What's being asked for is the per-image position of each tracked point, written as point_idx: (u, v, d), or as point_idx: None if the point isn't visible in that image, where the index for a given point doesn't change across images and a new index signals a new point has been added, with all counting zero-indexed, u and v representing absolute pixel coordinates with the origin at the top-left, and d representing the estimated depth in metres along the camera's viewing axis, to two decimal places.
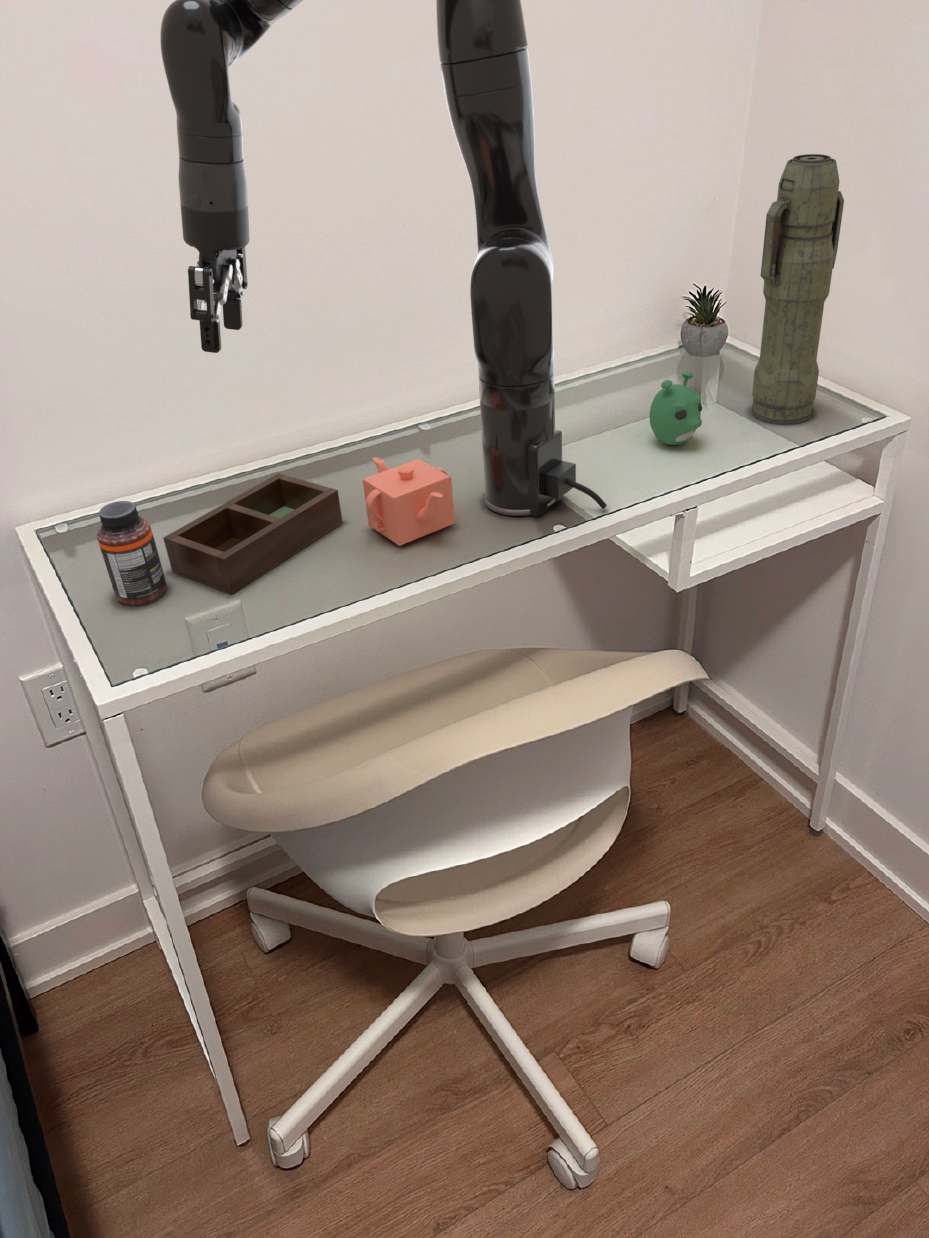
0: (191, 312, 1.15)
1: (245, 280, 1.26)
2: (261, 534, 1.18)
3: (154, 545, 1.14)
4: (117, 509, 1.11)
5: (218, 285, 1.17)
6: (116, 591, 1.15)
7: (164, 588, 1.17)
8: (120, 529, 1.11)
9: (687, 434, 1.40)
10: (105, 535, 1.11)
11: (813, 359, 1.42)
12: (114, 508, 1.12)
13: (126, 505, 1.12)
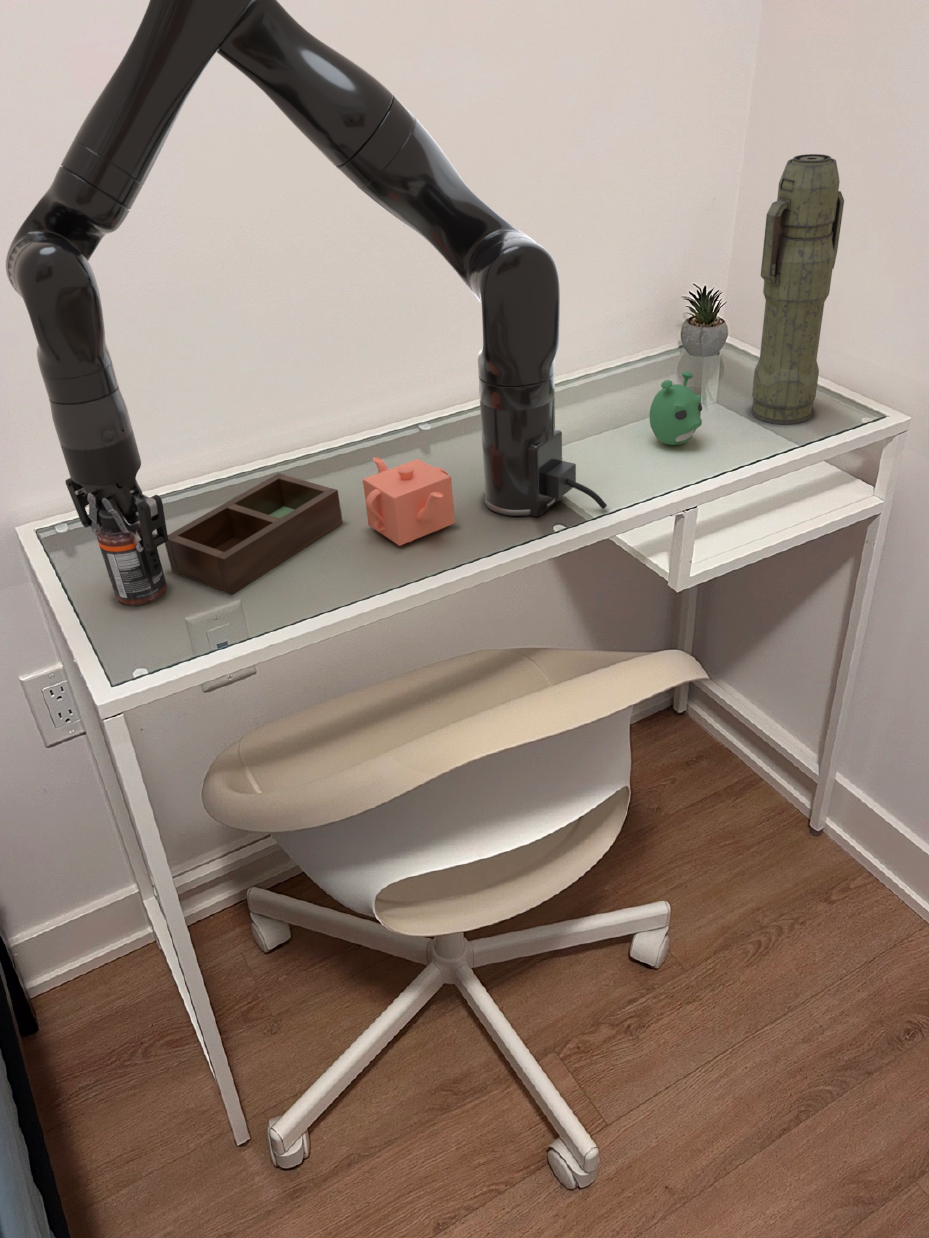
0: (151, 544, 1.09)
1: None
2: (261, 534, 1.18)
3: None
4: None
5: None
6: (116, 591, 1.15)
7: (164, 588, 1.17)
8: None
9: (687, 434, 1.40)
10: (105, 535, 1.11)
11: (813, 359, 1.42)
12: None
13: None
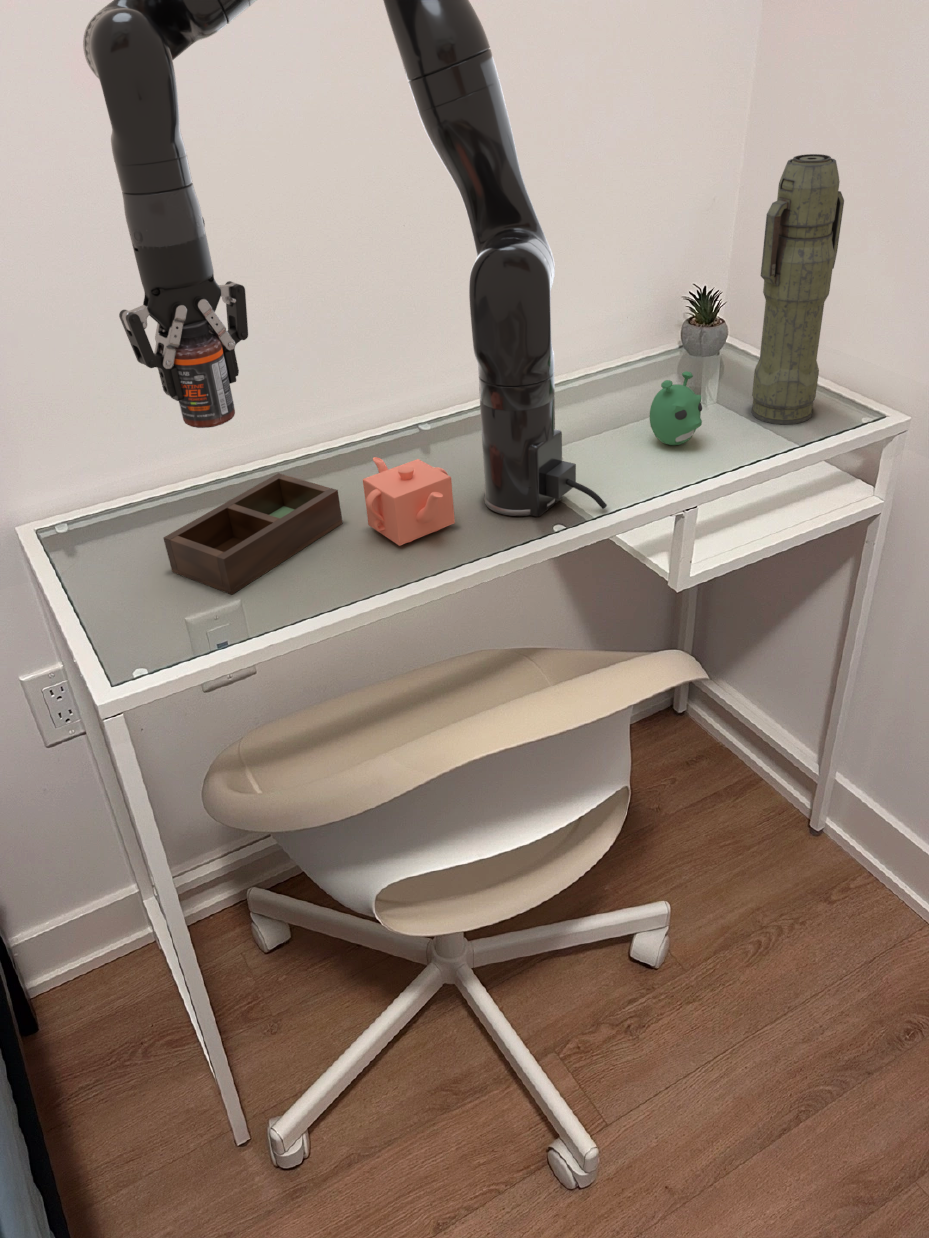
0: (247, 330, 1.12)
1: (141, 352, 1.08)
2: (261, 534, 1.18)
3: None
4: None
5: None
6: (216, 412, 1.11)
7: None
8: (210, 335, 1.09)
9: (687, 434, 1.40)
10: (204, 346, 1.08)
11: (813, 359, 1.42)
12: None
13: None
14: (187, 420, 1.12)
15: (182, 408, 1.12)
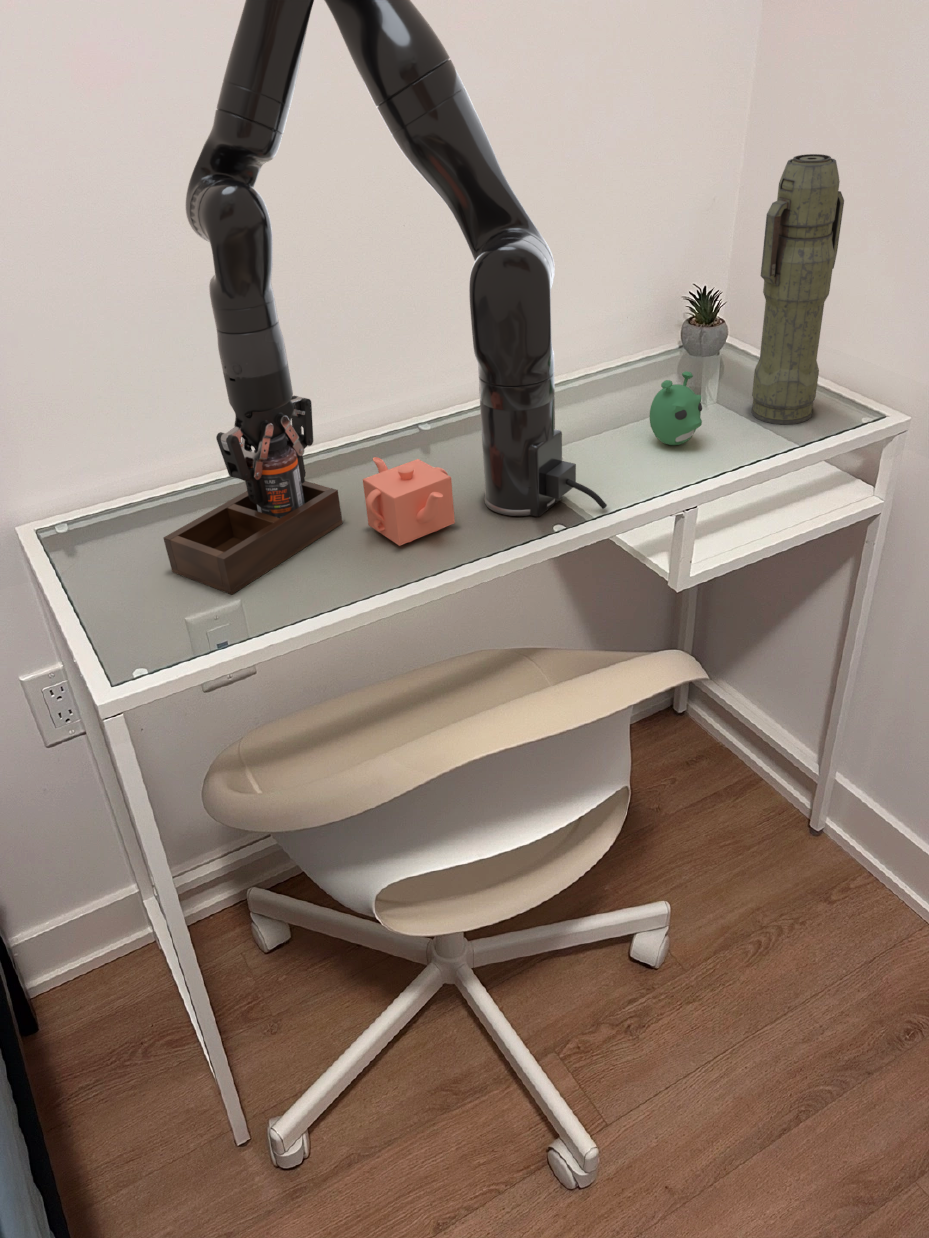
0: (312, 437, 1.26)
1: None
2: (261, 534, 1.18)
3: None
4: None
5: None
6: None
7: None
8: (287, 445, 1.23)
9: (687, 434, 1.40)
10: (286, 456, 1.21)
11: (813, 359, 1.42)
12: None
13: None
14: None
15: (264, 511, 1.24)
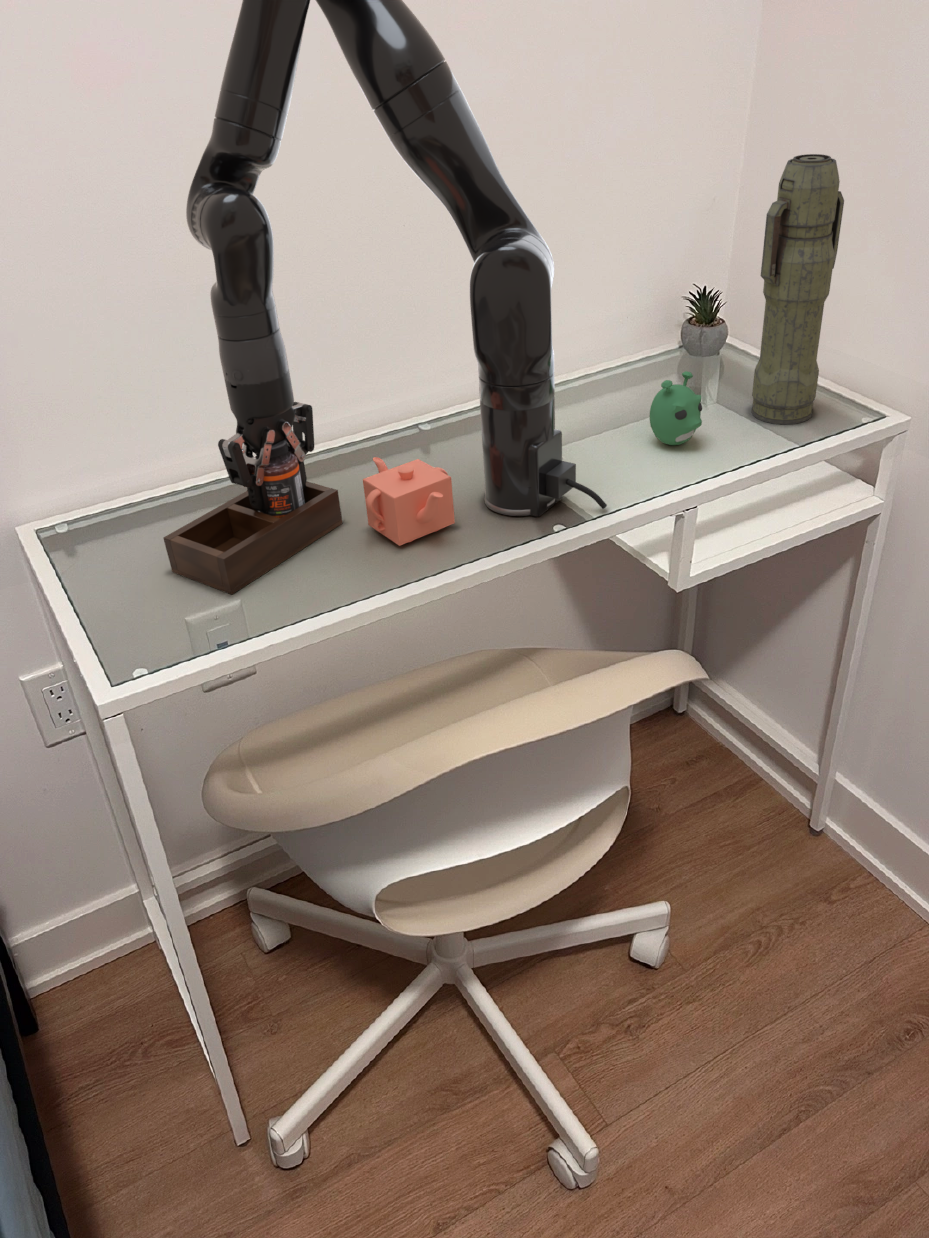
0: (313, 443, 1.26)
1: None
2: (261, 534, 1.18)
3: None
4: None
5: None
6: None
7: None
8: (288, 451, 1.23)
9: (687, 434, 1.40)
10: (288, 462, 1.22)
11: (813, 359, 1.42)
12: None
13: None
14: None
15: None
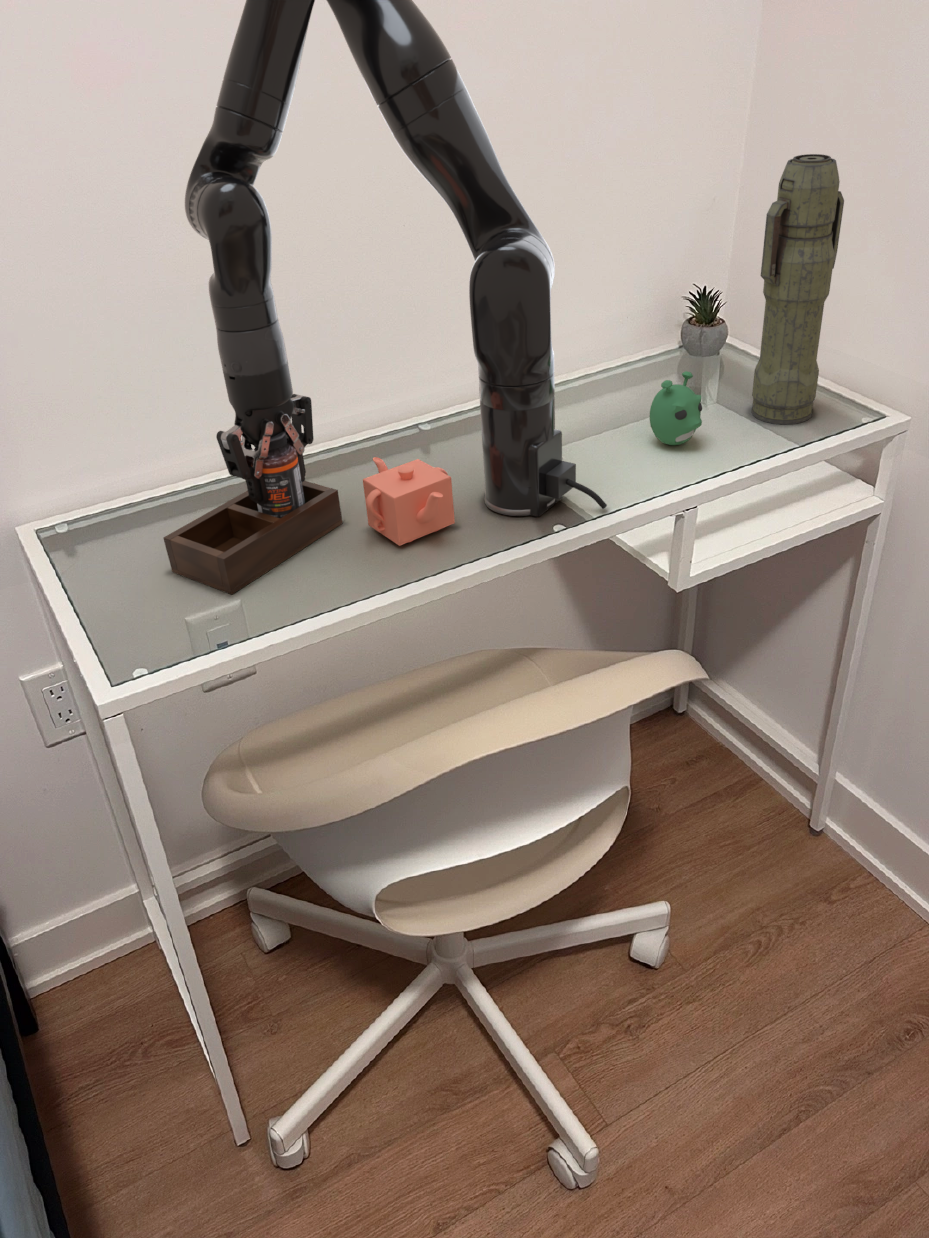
0: (312, 435, 1.26)
1: None
2: (261, 534, 1.18)
3: None
4: None
5: None
6: None
7: None
8: (287, 444, 1.22)
9: (687, 434, 1.40)
10: (287, 454, 1.21)
11: (813, 359, 1.42)
12: None
13: None
14: None
15: (264, 510, 1.24)
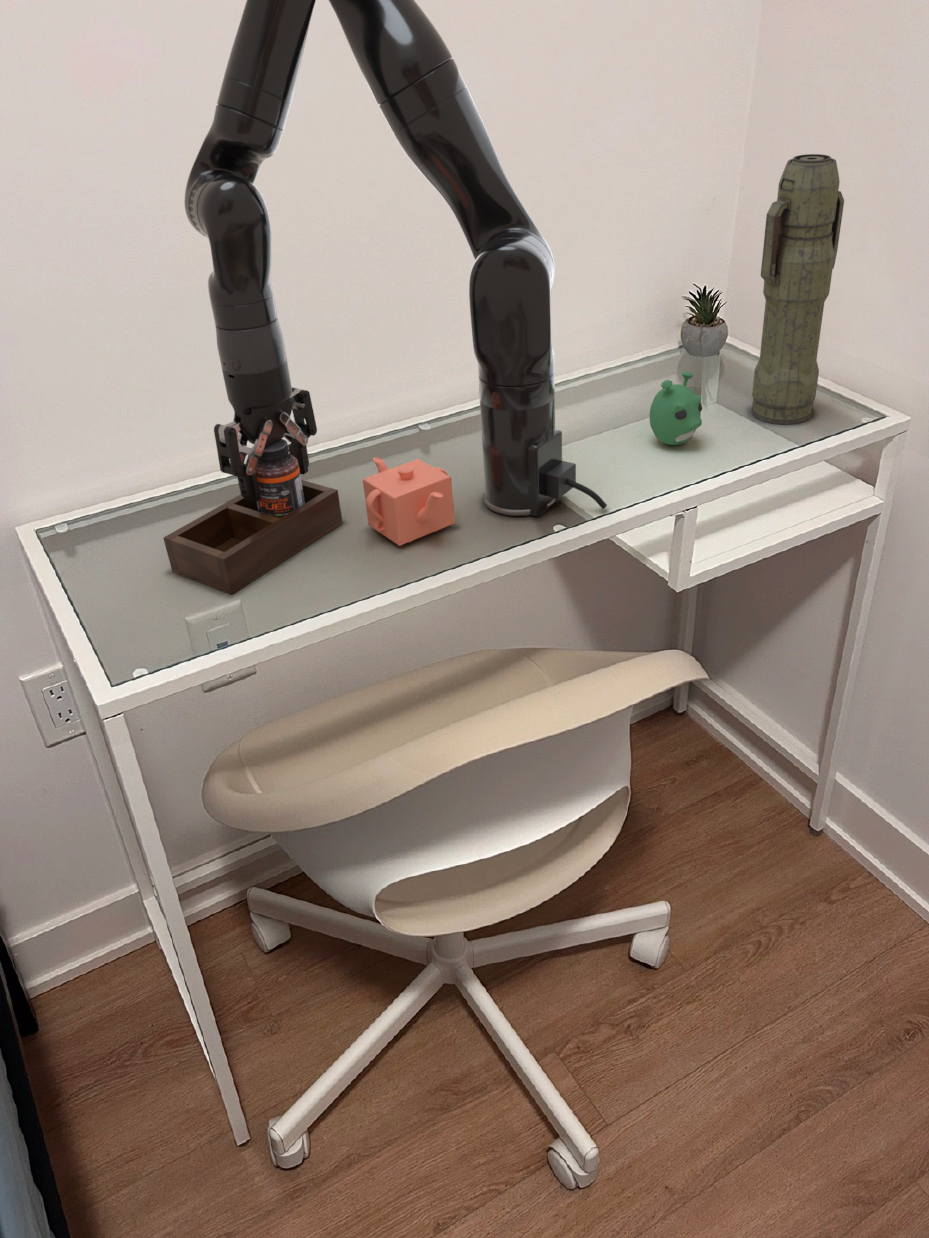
0: (315, 426, 1.26)
1: None
2: (261, 534, 1.18)
3: None
4: (273, 443, 1.22)
5: None
6: None
7: None
8: (289, 454, 1.23)
9: (687, 434, 1.40)
10: (288, 464, 1.22)
11: (813, 359, 1.42)
12: (270, 445, 1.21)
13: None
14: None
15: None
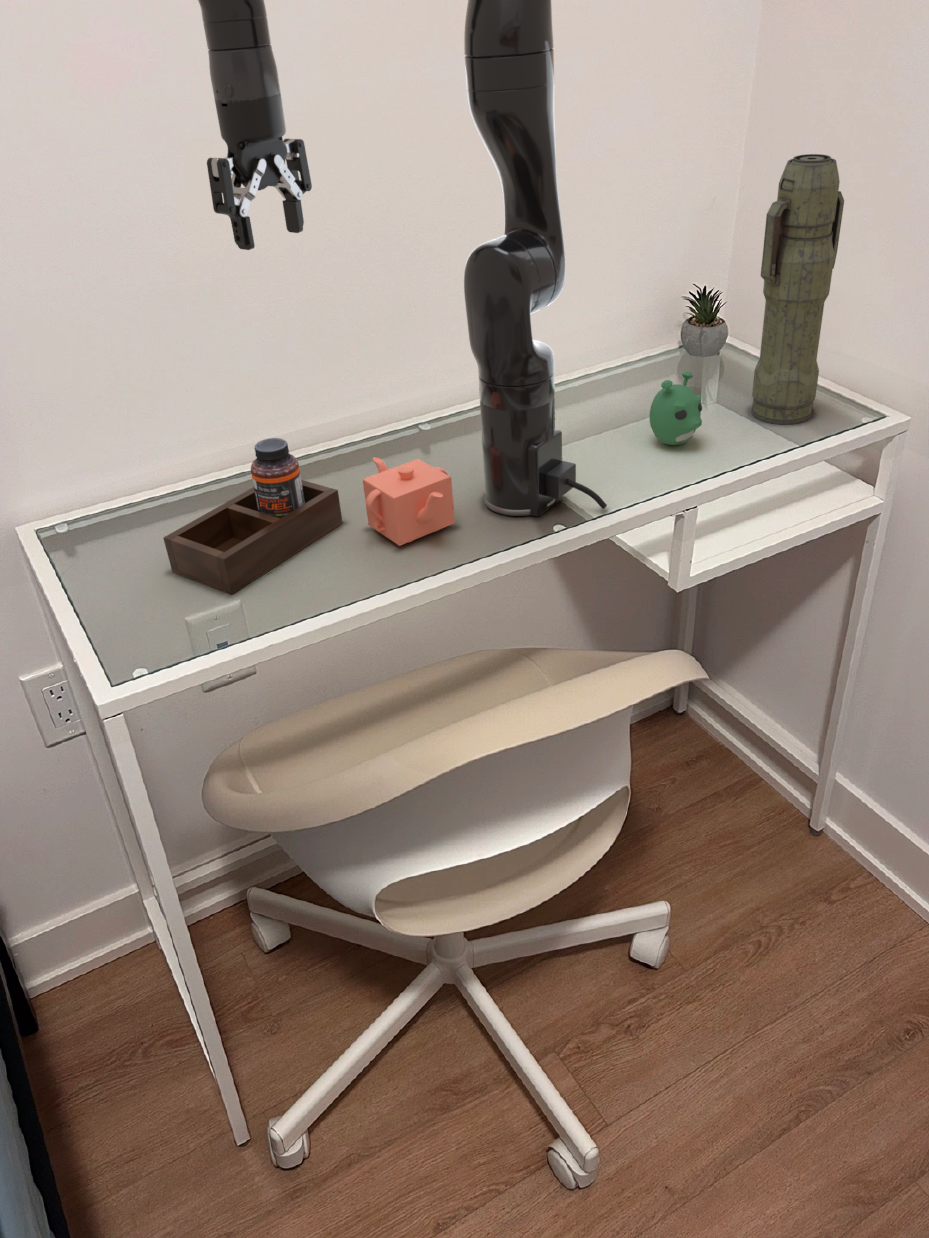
0: (310, 181, 1.25)
1: None
2: (261, 534, 1.18)
3: None
4: (273, 443, 1.22)
5: None
6: None
7: None
8: (289, 454, 1.23)
9: (687, 434, 1.40)
10: (288, 464, 1.22)
11: (813, 359, 1.42)
12: (270, 445, 1.21)
13: (267, 441, 1.22)
14: None
15: None
